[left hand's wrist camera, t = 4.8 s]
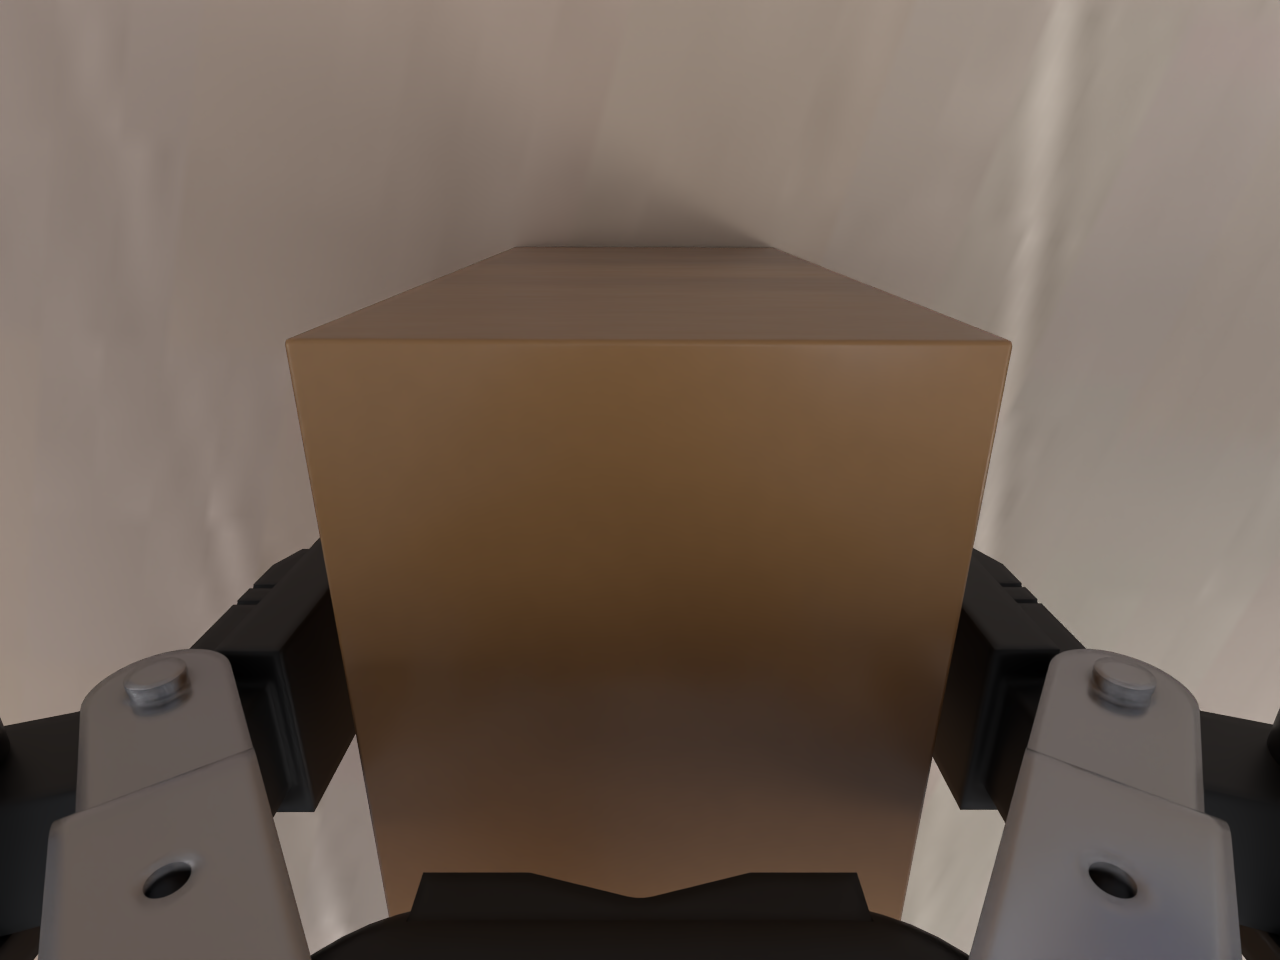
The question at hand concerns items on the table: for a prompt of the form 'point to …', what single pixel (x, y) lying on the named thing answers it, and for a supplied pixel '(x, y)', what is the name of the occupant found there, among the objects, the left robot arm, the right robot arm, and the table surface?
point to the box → (647, 562)
